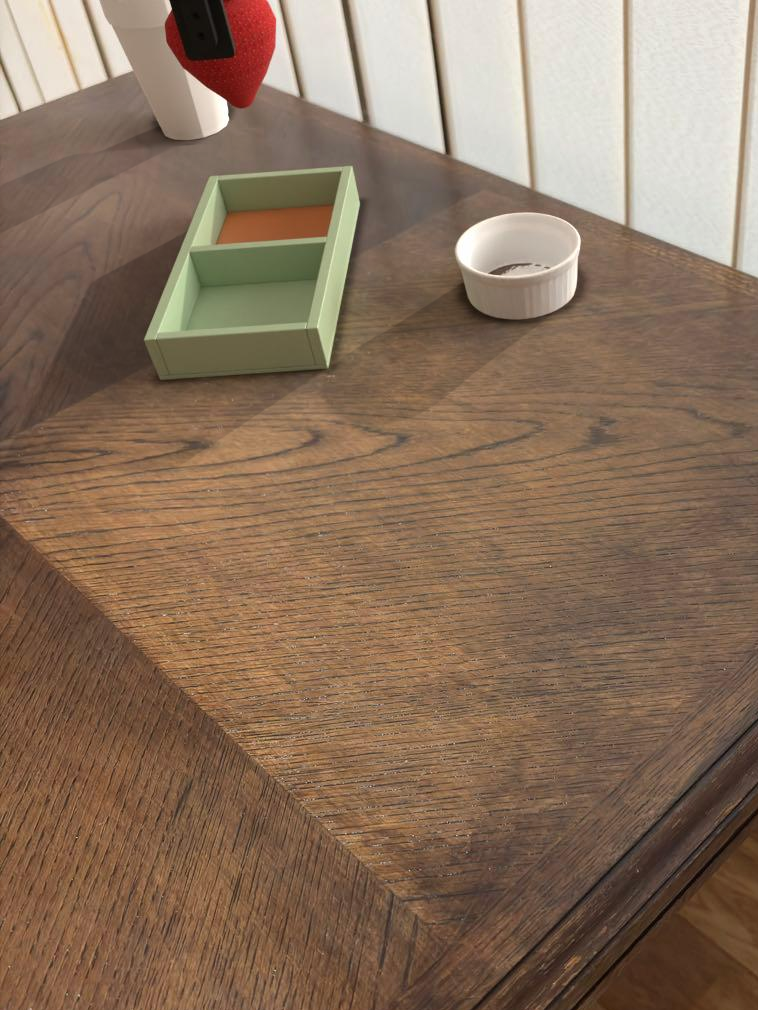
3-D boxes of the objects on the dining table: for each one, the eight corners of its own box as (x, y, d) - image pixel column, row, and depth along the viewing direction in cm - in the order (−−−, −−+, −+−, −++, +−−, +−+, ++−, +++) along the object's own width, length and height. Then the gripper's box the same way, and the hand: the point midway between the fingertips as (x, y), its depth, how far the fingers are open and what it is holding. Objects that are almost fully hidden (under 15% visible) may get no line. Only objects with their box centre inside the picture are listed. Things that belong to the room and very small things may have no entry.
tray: (162, 388, 73) (143, 339, 70) (223, 221, 89) (209, 176, 86) (330, 376, 73) (317, 327, 70) (361, 210, 88) (352, 165, 85)
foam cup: (217, 94, 106) (176, -47, 97) (262, 123, 101) (224, -24, 92) (129, 127, 103) (78, -17, 93) (172, 158, 97) (122, 8, 88)
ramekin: (444, 323, 76) (436, 270, 73) (485, 257, 82) (479, 205, 79) (563, 338, 74) (560, 284, 71) (596, 269, 80) (594, 216, 77)
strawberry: (180, 107, 77) (132, -44, 69) (278, 79, 79) (242, -70, 72) (204, 137, 73) (156, -19, 66) (306, 107, 75) (271, -48, 68)
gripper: (106, -315, 66) (194, -6, 78) (15, -258, 54) (137, 95, 66) (226, -326, 65) (295, -14, 78) (162, -272, 53) (256, 86, 66)
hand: (221, 34), depth 72 cm, fingers closed on strawberry, 6 cm apart
